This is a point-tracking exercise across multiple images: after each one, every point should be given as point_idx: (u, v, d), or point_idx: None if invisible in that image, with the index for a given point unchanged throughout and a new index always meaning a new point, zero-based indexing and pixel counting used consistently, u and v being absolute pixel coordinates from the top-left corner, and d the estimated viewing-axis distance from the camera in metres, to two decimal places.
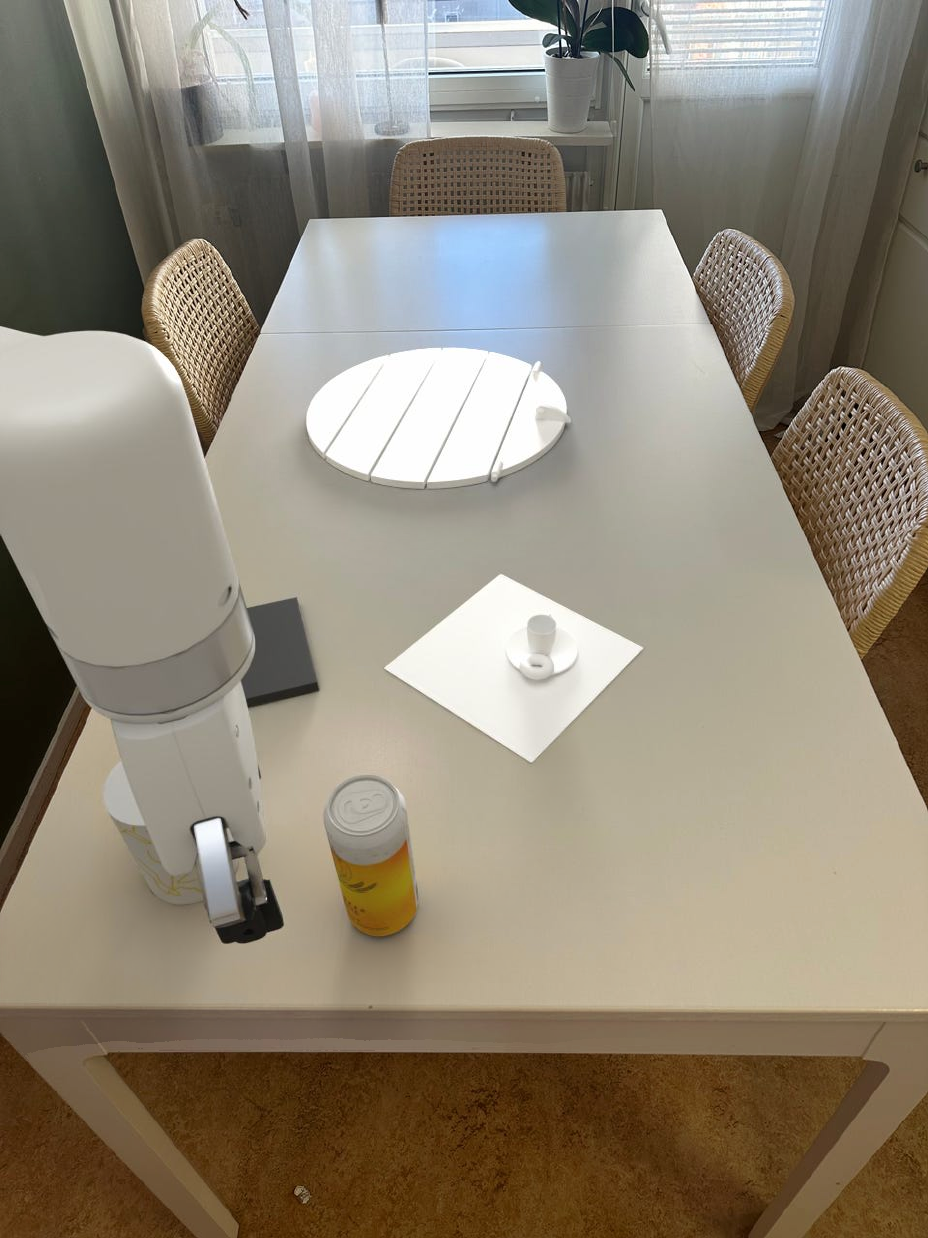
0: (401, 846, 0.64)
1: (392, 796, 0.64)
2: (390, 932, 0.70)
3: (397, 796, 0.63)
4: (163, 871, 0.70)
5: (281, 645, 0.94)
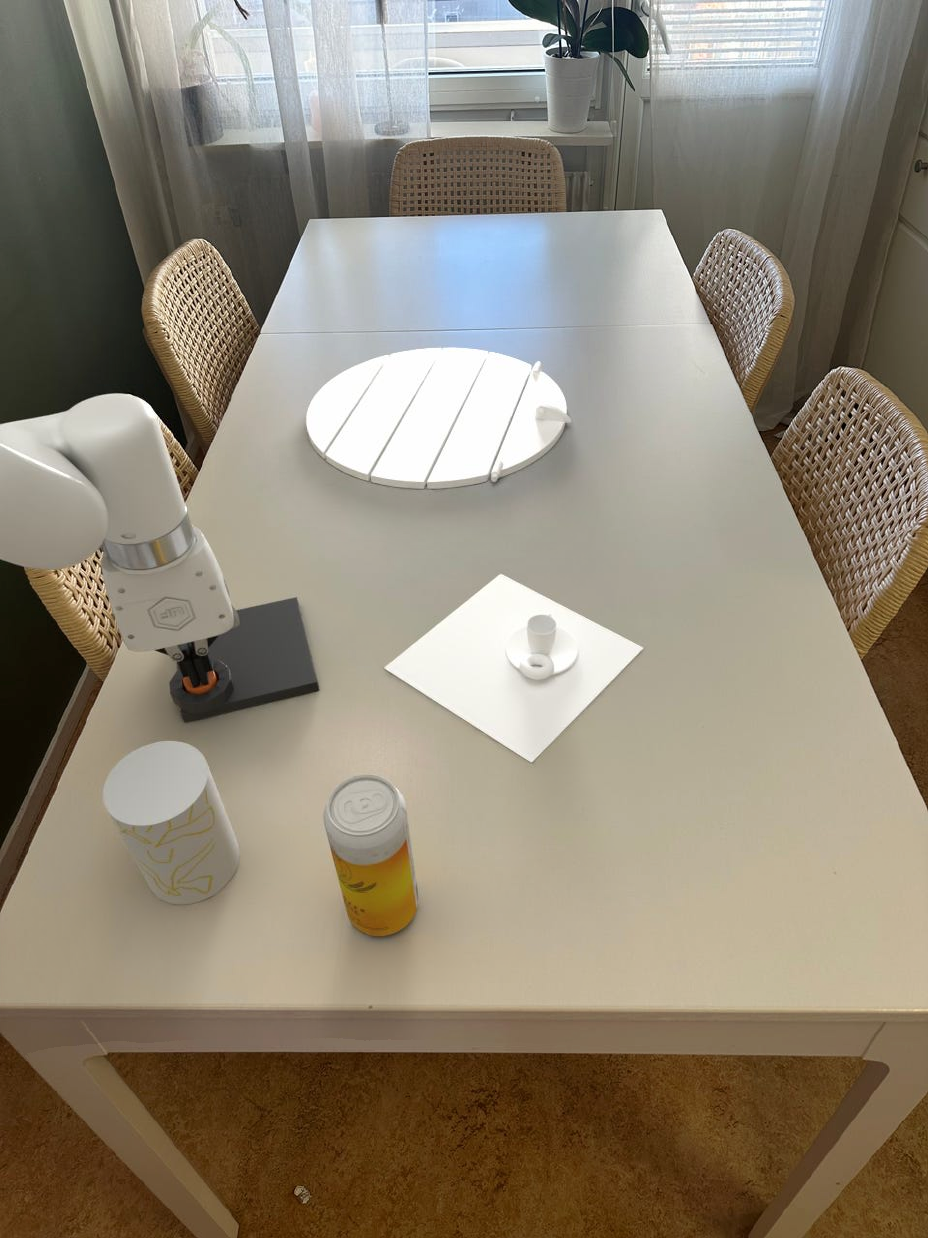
0: (401, 845, 0.64)
1: (392, 796, 0.64)
2: (390, 932, 0.70)
3: (397, 796, 0.63)
4: (163, 871, 0.70)
5: (281, 645, 0.94)
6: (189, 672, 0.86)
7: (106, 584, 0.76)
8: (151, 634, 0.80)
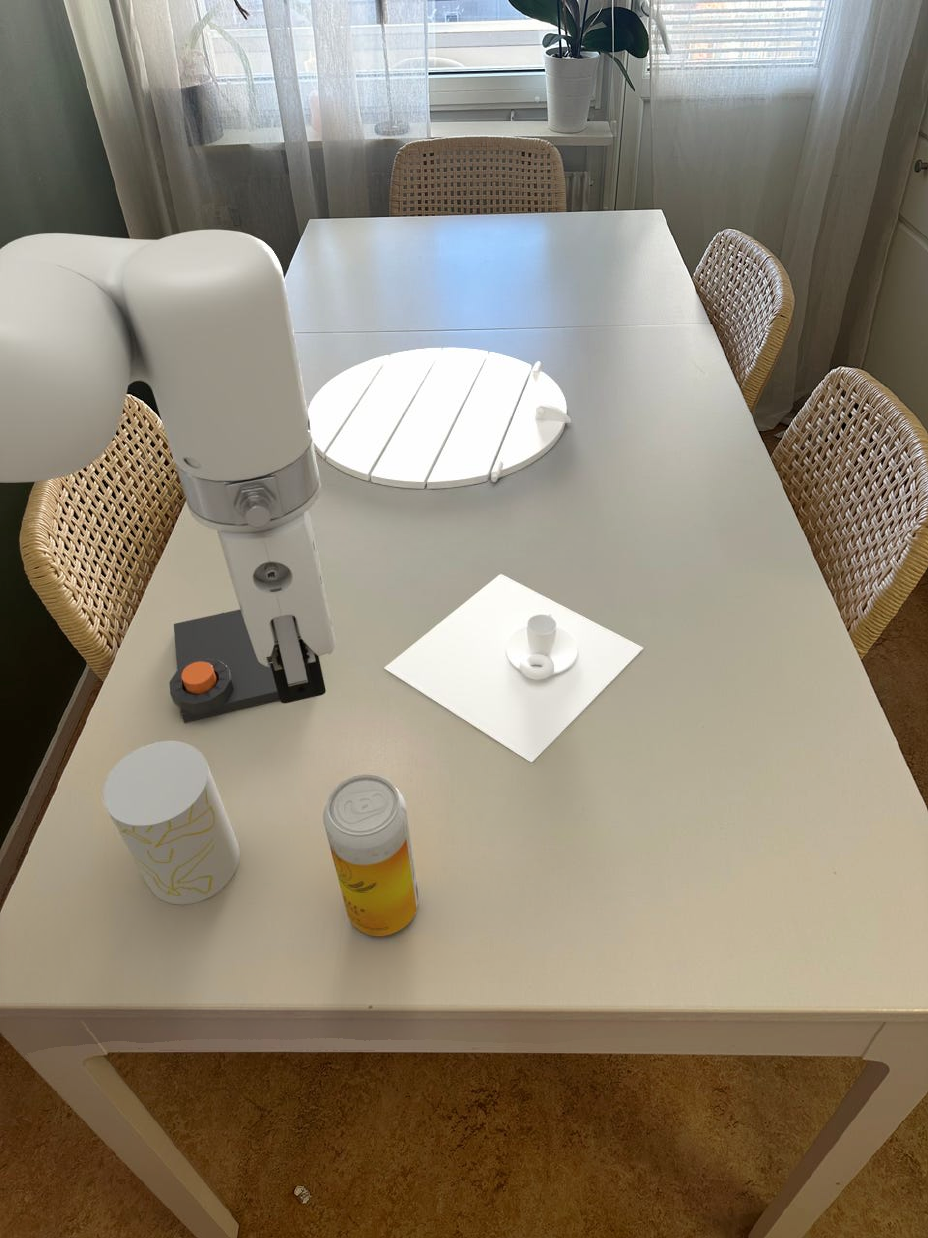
0: (400, 845, 0.64)
1: (392, 796, 0.64)
2: (390, 932, 0.70)
3: (397, 796, 0.63)
4: (163, 871, 0.70)
5: None
6: (320, 668, 0.59)
7: (303, 553, 0.48)
8: None
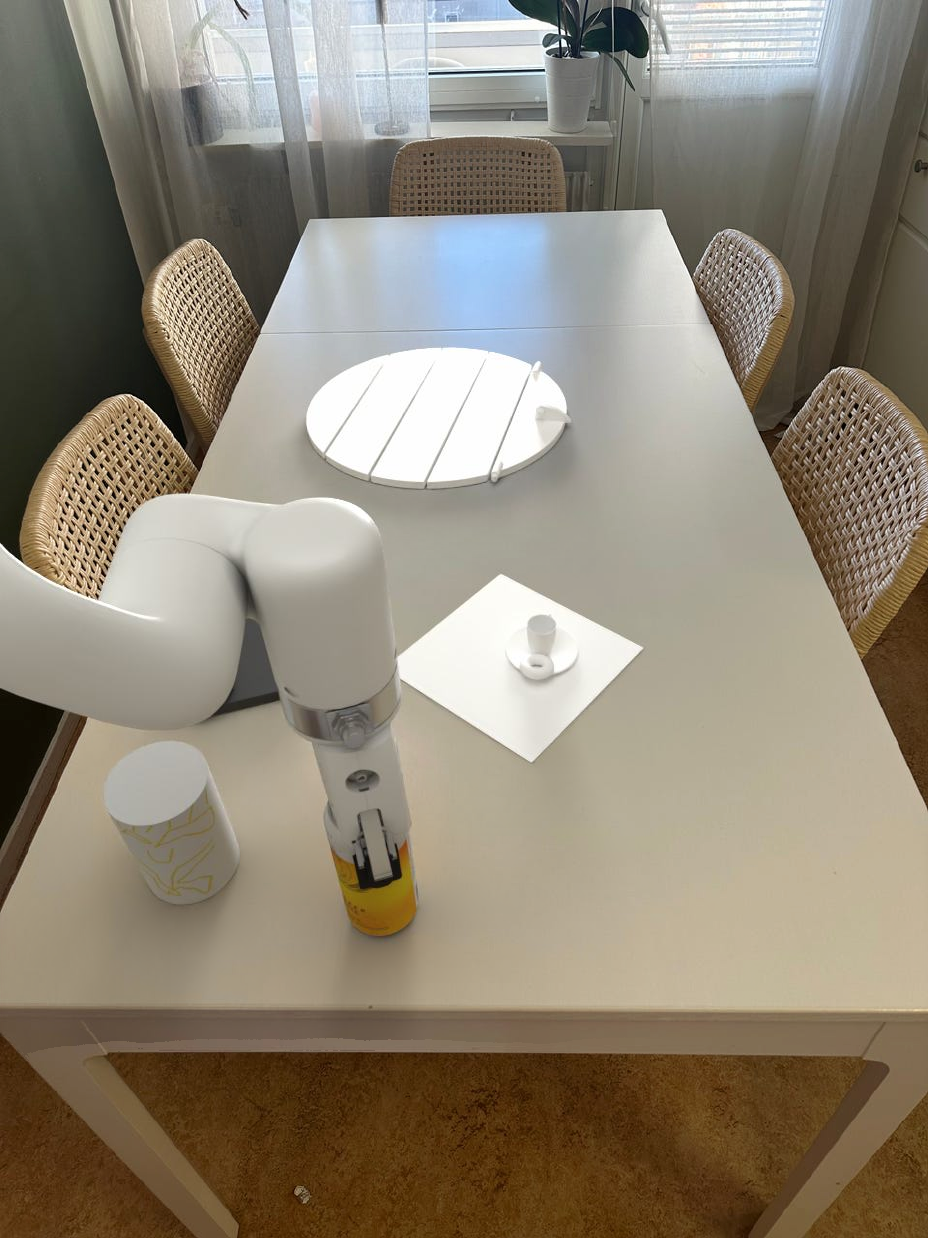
0: (401, 845, 0.64)
1: None
2: (390, 932, 0.70)
3: None
4: (163, 871, 0.70)
5: None
6: None
7: (390, 760, 0.53)
8: None
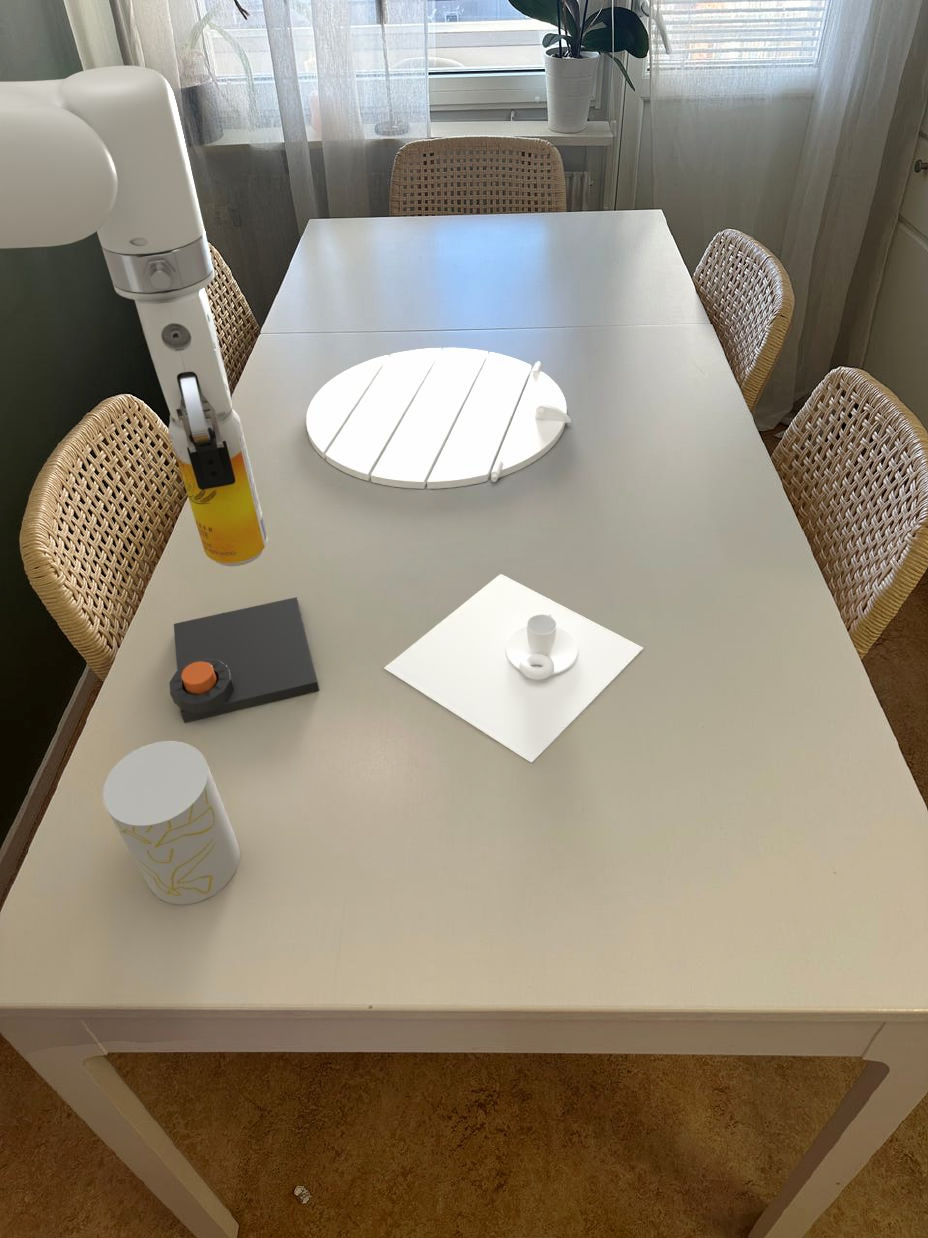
0: (235, 453, 0.75)
1: None
2: (238, 559, 0.81)
3: (231, 409, 0.75)
4: (163, 871, 0.70)
5: (281, 645, 0.94)
6: None
7: (198, 319, 0.65)
8: (225, 378, 0.70)
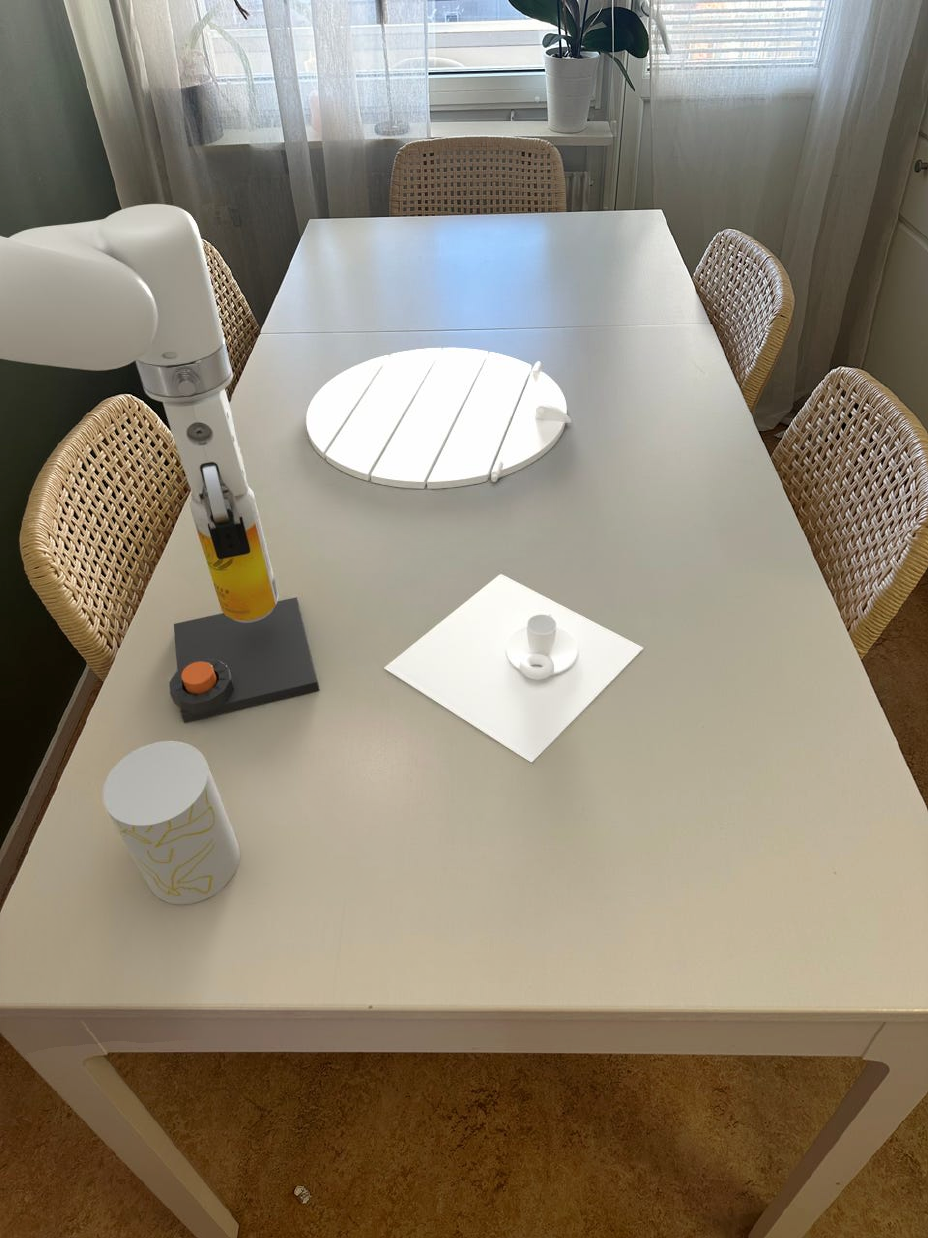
0: (250, 526, 0.83)
1: None
2: (252, 617, 0.90)
3: None
4: (163, 871, 0.70)
5: (281, 645, 0.94)
6: (245, 531, 0.82)
7: (219, 418, 0.73)
8: (242, 463, 0.79)
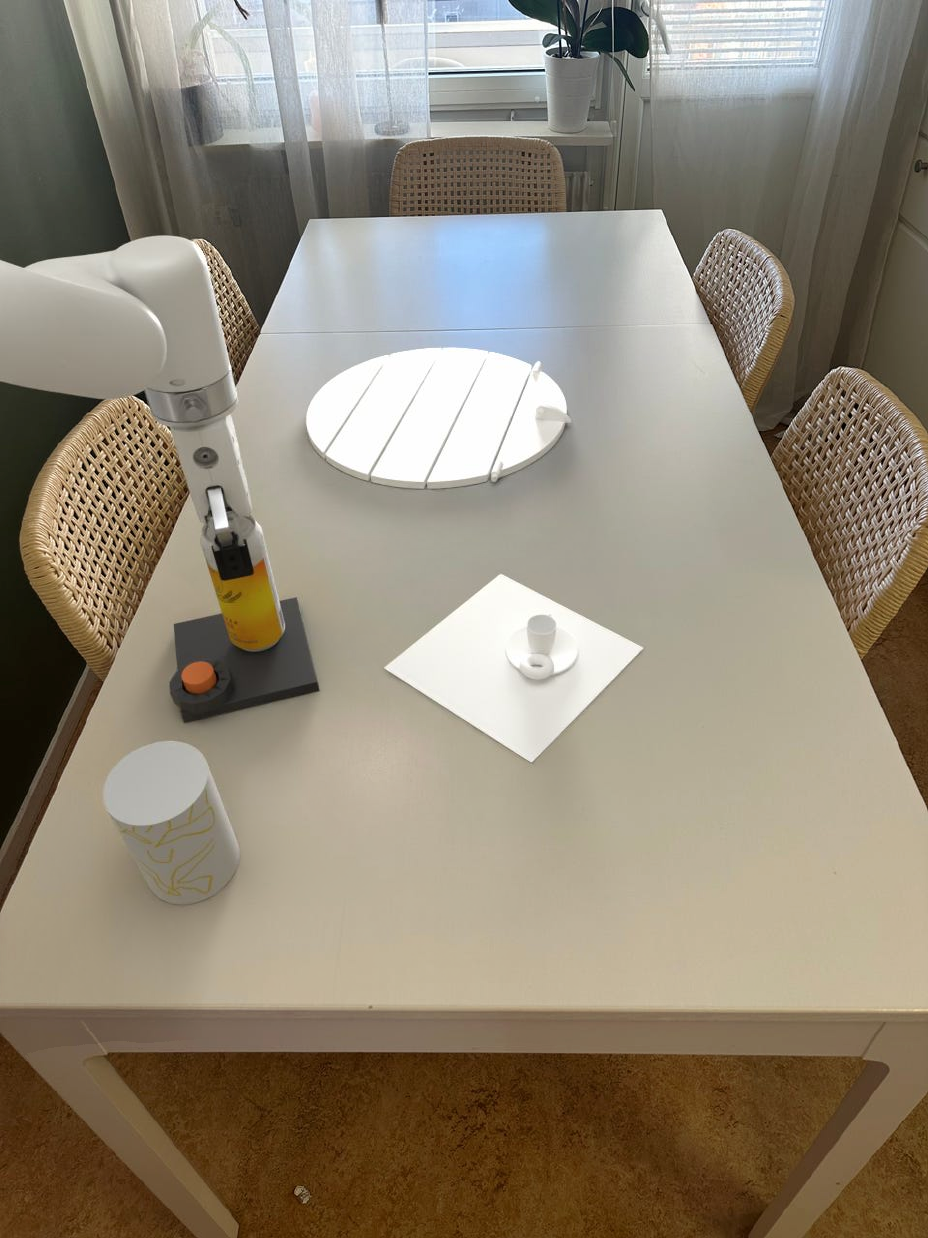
0: (258, 561, 0.86)
1: (252, 524, 0.86)
2: (260, 646, 0.93)
3: (254, 523, 0.86)
4: (163, 871, 0.70)
5: (281, 645, 0.94)
6: (249, 553, 0.82)
7: (225, 442, 0.74)
8: (247, 485, 0.80)
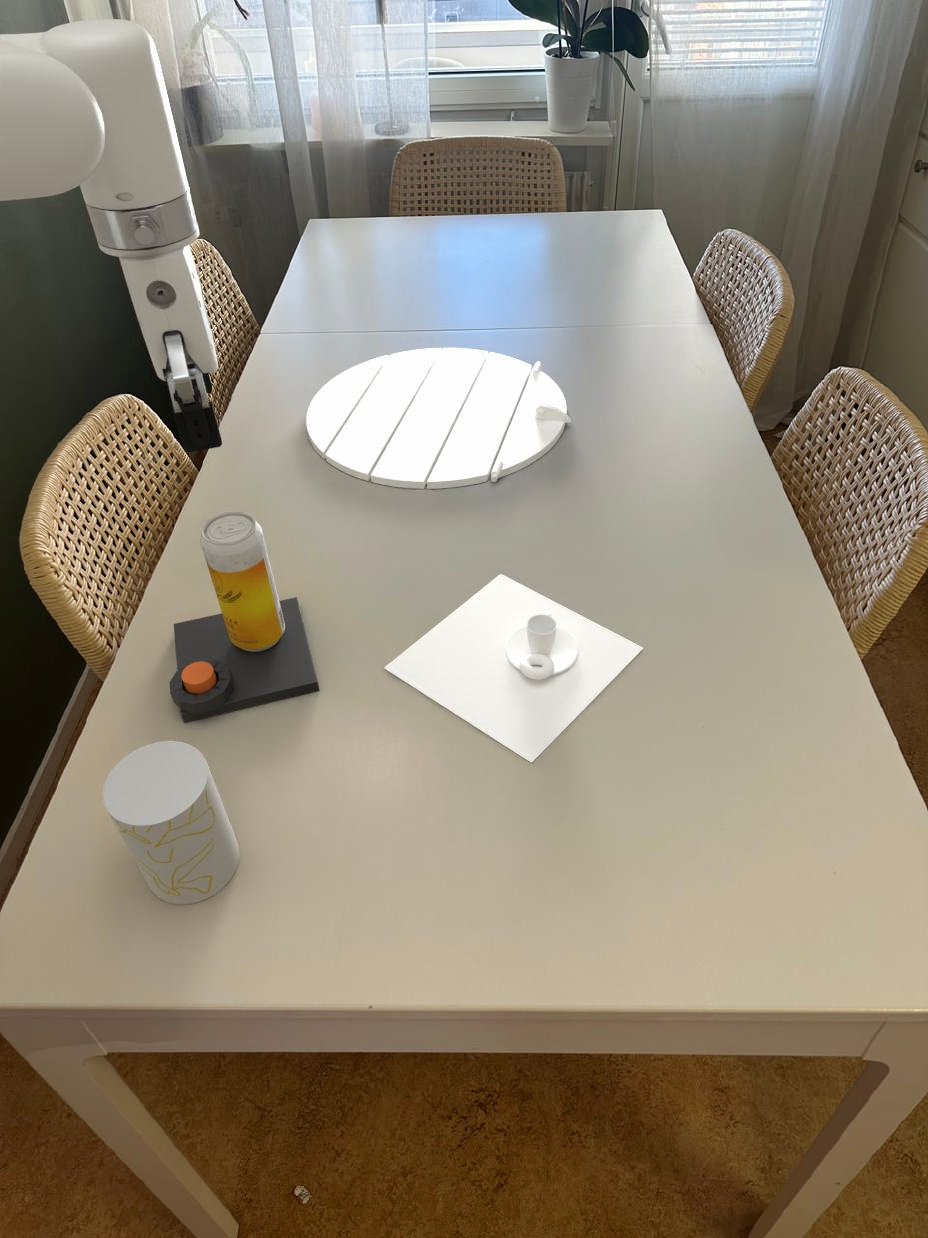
0: (258, 561, 0.86)
1: (252, 524, 0.86)
2: (260, 646, 0.93)
3: (254, 523, 0.86)
4: (163, 871, 0.70)
5: (281, 645, 0.94)
6: None
7: (183, 276, 0.65)
8: (212, 338, 0.70)
